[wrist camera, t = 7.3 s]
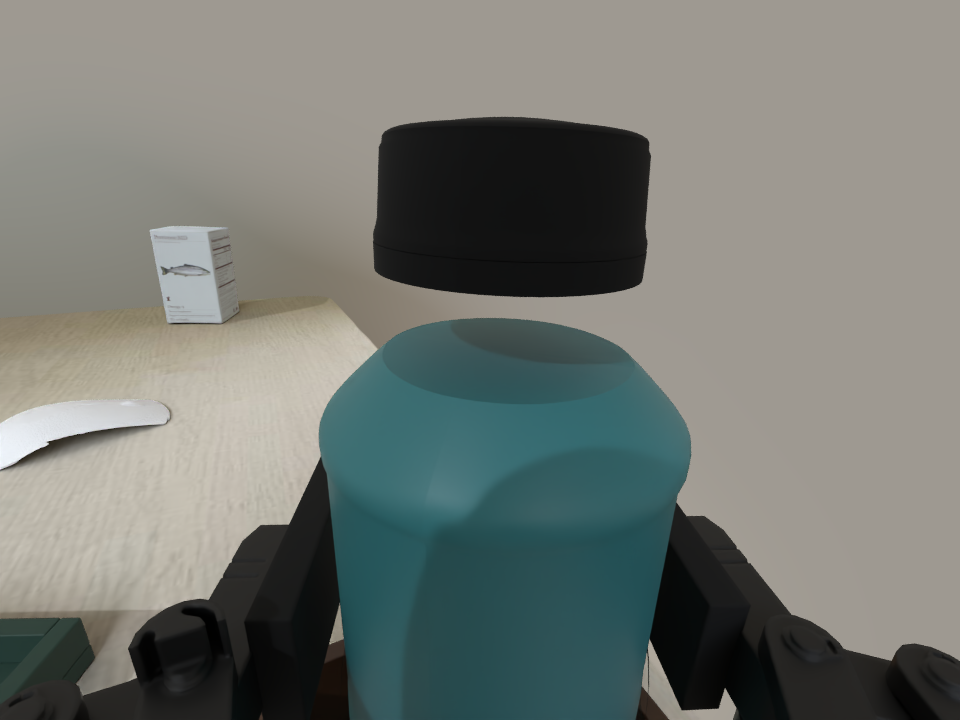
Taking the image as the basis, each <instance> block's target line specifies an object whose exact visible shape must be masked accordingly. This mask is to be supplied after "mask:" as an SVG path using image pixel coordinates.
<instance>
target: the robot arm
mask: <svg viewBox="0 0 960 720" xmlns="http://www.w3.org/2000/svg"><path fill="white" fill-rule="evenodd" d="M339 603H340V597H339V587H338V577H337V567H336V557H335V548H334V538H333V528H332V518H331V509H330V499H329V489H328V479H327V473H326V471H325V468H324V466H323V462H322V458H320V460H319V462H318V464H317V466H316V468H315V470H314V473H313V475H312V477H311V479H310V481H309V483H308V485H307V488H306V490H305V492H304V494H303V496H302V498H301V500H300V503H299V505H298V507H297V509H296V511H295V513H294V515H293V518H292V520H291V522H290V524H289V525H260V526H259V527H258V528H257V529H256V530H255V531H253V532H252V533H251V534H250V535H249V536H248V537H247V538H245V539H244V540H243V541H242V543H241V545H240V546H239V548H238V550H237V552H236V553H235V555H234V557H233V559H232V563H230V564H229V566H228V567H227V569H226V571H225V573H224V574H223V578H221V579H220V581H219V583H218V585H217V586H216V588H215V590H214V592H213V593H212V595H211V597H210V599H209V600H205V599H195V600H189V601H183V602H181V603H178V604H176V605H173V606H171V607H168V608H166V609H164V610H163V611H161V612H160V613H158V614H157V615H155V616H154V617H152V618H151V619H149V620H148V621H147V622H146V623H145V624H144V626H143V627H142V628H141V629H140V630H139V631H138V632H137V633H136V634H135V636H134V638H133V640H132V642H131V644H130V646H129V648H128V650H129V653H130V656H131V659H132V662H133V666H134V669H135V672H136V675H137V678H136V679H133V680H131V681H128V682H125V683H122V684H119V685H116V686H113V687H110V688H106V689H103V690H100V691H97V692H94V693H90V694H87V695H84V696H82V693H81V691H80V688H79V686H77V685H75V684H74V683H72V682H71V681H69V680H50V681H47V682H43V683H40V684H36V685H33V686H31V687H29V688H27V689H25V690H23V691H21V692H19V693H17V694H15V695H13V696H11V697H9V698H8V699H7V700H5V701H4V702H3V703H1V704H0V720H259V718H260V715H261V712H262V717H263V720H310V716H311V712H312V708H313V704H314V700H315V696H316V693H317V689H318V685H319V681H320V677H321V673H322V669H323V665H324V662H325V658H326V654H327V650H328V646H329V642H330V638H331V634H332V630H333V627H334V623H335V619H336V615H337V611H338V607H339ZM650 641H651V643H652V645H653V647H654V650H655V652H656V654H657V656H658V659H659V661H660V663H661V665H662V668H663V670H664V672H665V674H666V676H667V679H668V681H669V683H670V685H671V688H672V690H673V692H674V694H675V697H676V699H677V701H678V703H679V706H680V708H681V710H699V709H718V708H719V705H720V702H721V699H722V696H723V692H724V689H725V688H726V690H727V692H728V694H729V695H730V697H731V699H732V701H733V702H734V704H735V706H736V708H737V709H736V712H735V715H734V718H733V720H960V661H958V660H957V659H955V658H954V657H952V656H950V655H948V654H946V653H943V652H941V651H939V650H937V649H934V648H932V647H928V646H924V645H919V644H907V645H902V646H901V647H900V648H899V649H898V650H897V651H896V653H895V655H894V657H893V659H892V661H889V660H885V659H881V658H877V657H873V656H869V655H865V654H861V653H856V652H853V651H849V650H846V649H843V647H842V646H841V645H840V643H839V642H838V641H837V640H836V639H834V638H833V637H832V636H831V635H830V634H829V633H828V632H827V631H826V630H824V629H822V628H821V627H819V626H817V625H816V624H814V623H812V622H811V621H808V620H806V619H803V618H800V617H797V616H795V615H791V614H790V612H789V611H788V610H787V609H786V607H785V606H784V605H783V604H782V602H781V601H780V600H779V599H778V597H777V596H776V595H775V594H774V592H773V591H772V590H771V589H770V588H769V586H768V585H767V584H766V582H765V581H764V580H763V579H762V577H761V576H760V575H759V574H758V572H757V571H756V570H755V569H754V567H753V566H752V565H751V564H750V563H748V562H747V559H746V558H745V556H744V555H743V554H742V553H741V551H740V550H737V548H736V545H735V544H734V543H733V541H732V540H731V539H730V538H729V536H728V535H727V534H726V533H725V531H724V530H723V529H721V528H720V527H719V526H717V525H716V524H715V523H713V522H712V521H710V520H709V519H707V518H706V517H705V516H686V515H685V514H684V513H683V511H682V510H681V508H680V507H679V505H678V504H677V503H676V506H675V511H674V516H673V521H672V526H671V531H670V536H669V541H668V546H667V552H666V557H665V562H664V567H663V572H662V577H661V582H660V587H659V592H658V597H657V602H656V608H655V613H654V618H653V623H652V628H651V633H650Z"/></svg>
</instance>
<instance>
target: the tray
mask: <svg viewBox="0 0 960 720" xmlns="http://www.w3.org/2000/svg"><path fill="white" fill-rule="evenodd" d="M94 658H95V656H94V653H93V650H92V647H91V645H89V640H88V637H87V634H86V632H85V629H84V626H83V623H82V620H81V619H80V618H62V619H60V618H24V619H0V704H1V703H3V702H4V701H5V700H7V699H8V698H9V697H11V696H13V695H15V694H17V693H19V692H21V691H23V690H25V689H27V688H29V687H31V686H33V685H36V684H40V683H43V682H47V681H50V680H69V681H71V682H72V683H74V684H75V683H76V682H77V680H78V679H79V678H80V676H81V675H82V674H83V673H84V671H85V670H86V669H87V667H88V666H89V665H90V663H91V662H92V661H93V660H94Z"/></svg>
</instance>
